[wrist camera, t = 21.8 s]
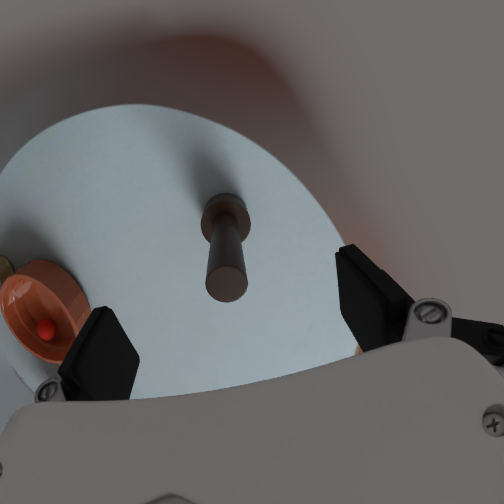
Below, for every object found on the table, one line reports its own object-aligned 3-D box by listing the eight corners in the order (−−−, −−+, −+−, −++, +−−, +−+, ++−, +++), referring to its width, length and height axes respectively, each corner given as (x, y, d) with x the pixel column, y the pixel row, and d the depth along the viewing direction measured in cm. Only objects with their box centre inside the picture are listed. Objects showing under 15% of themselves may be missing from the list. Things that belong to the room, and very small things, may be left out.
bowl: (6, 270, 28) (-14, 286, 23) (65, 245, 28) (44, 262, 23) (47, 345, 33) (34, 366, 28) (110, 335, 33) (98, 360, 28)
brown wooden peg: (199, 197, 28) (174, 253, 14) (243, 189, 28) (262, 237, 14) (208, 238, 29) (196, 325, 15) (250, 230, 29) (273, 311, 15)
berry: (30, 329, 27) (40, 344, 29) (45, 330, 27) (55, 345, 29) (37, 313, 30) (47, 328, 31) (52, 314, 30) (62, 328, 32)
